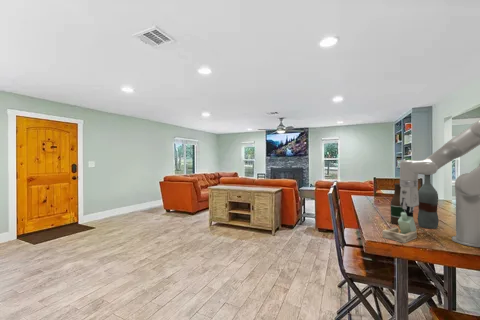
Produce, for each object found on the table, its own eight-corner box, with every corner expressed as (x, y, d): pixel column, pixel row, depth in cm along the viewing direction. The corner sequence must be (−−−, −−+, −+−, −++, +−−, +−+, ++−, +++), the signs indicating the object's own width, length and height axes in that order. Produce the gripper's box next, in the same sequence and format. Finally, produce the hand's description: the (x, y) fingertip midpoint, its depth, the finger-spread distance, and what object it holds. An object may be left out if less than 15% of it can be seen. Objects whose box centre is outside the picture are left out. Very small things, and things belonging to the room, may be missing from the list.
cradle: (416, 237, 113) (416, 230, 113) (404, 242, 106) (404, 235, 106) (395, 232, 121) (395, 226, 121) (382, 237, 114) (382, 230, 114)
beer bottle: (409, 225, 133) (409, 184, 133) (396, 225, 133) (395, 184, 133) (400, 222, 141) (400, 182, 141) (387, 222, 141) (387, 182, 141)
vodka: (421, 228, 128) (420, 174, 128) (414, 223, 137) (414, 173, 137) (442, 229, 125) (441, 174, 125) (434, 225, 134) (433, 173, 134)
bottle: (416, 229, 117) (411, 211, 114) (412, 236, 115) (407, 217, 112) (405, 227, 122) (399, 209, 119) (401, 233, 119) (395, 215, 116)
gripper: (410, 185, 112) (410, 223, 112) (423, 183, 119) (424, 219, 120) (393, 184, 118) (393, 220, 118) (407, 182, 126) (407, 216, 126)
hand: (408, 219), depth 119 cm, fingers closed
